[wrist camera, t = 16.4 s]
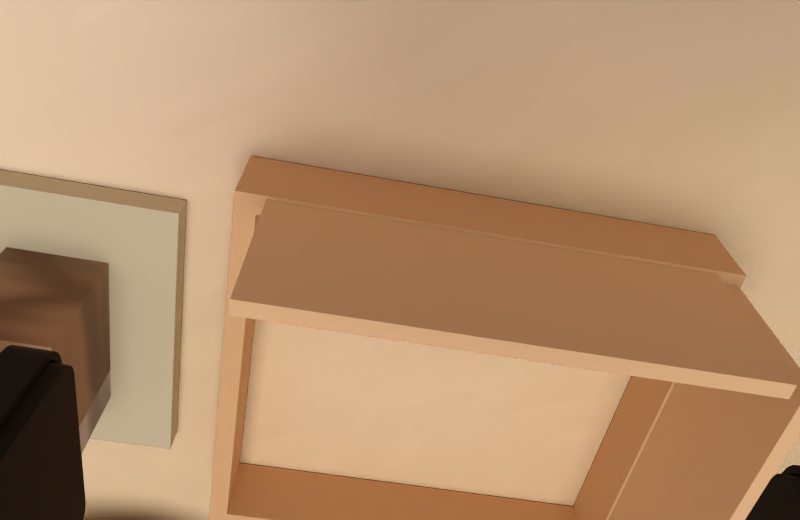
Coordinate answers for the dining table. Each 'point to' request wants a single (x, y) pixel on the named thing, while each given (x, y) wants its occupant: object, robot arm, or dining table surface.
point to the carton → (509, 340)
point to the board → (116, 287)
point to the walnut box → (61, 320)
